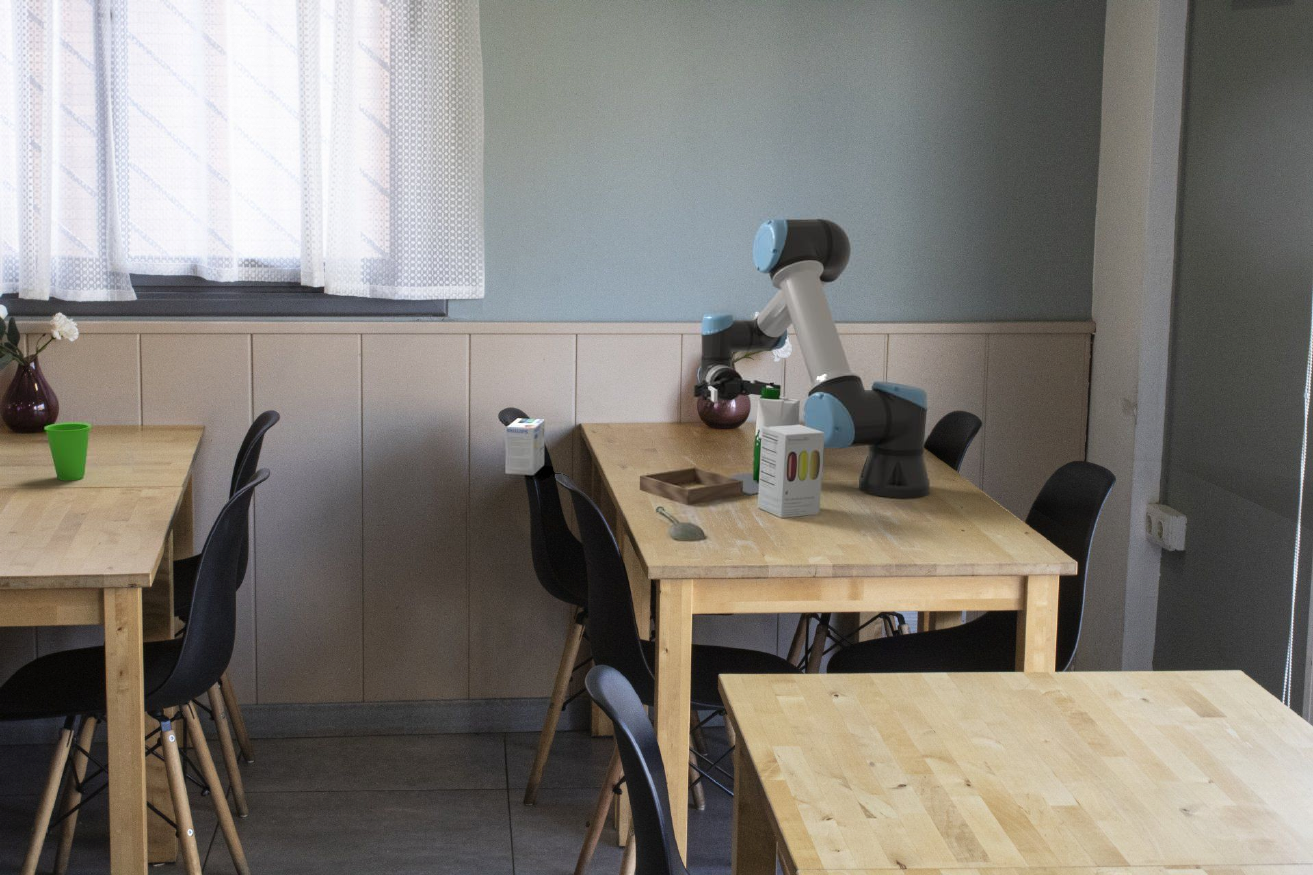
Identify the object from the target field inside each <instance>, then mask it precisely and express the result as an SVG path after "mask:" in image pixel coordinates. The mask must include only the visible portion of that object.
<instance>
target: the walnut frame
mask: <svg viewBox="0 0 1313 875" xmlns="http://www.w3.org/2000/svg"><path fill="white" fill-rule="evenodd" d="M728 476H729V475H724V474H721V473H717V472H713V471H711V470H706V469H703V468H700V467H687V468H683V469H682V468H681V469H674V470H670V471H664V472H663V471H662V472H657V473H649V474H644V475H639V490H640V491H643V492H646V493H648V492H649V494H652V495H655V494H656V495H655V496H658V497H661V496H662V498H665V499H667V498H669V499H668V500H671V501H674V500H675V501H674V502H677V503H680V502H681V504H683V505H692V504H698V503H699V504H700V503H704V502H710V500H711V501H715V500H720V499H721V498H722V499H726V498H732V497H737V496H743V495H744V494H743V481H742V480H739V479H735V478H731V477H728ZM688 483H697V484H701V485H705V486H699V487H693V488H685V487H682V486H679V485H682V484H683V485H684V484H688Z"/></svg>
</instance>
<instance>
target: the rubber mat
mask: <svg viewBox="0 0 1313 875" xmlns="http://www.w3.org/2000/svg"><path fill="white" fill-rule="evenodd" d="M727 476H728V477H731V478H735V479H739V480H742V481H743V495H746V496H754V495H758V494H759V481H755V480H753V472H744V473H738V474H732V475H727Z"/></svg>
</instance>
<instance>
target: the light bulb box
mask: <svg viewBox="0 0 1313 875" xmlns="http://www.w3.org/2000/svg"><path fill="white" fill-rule="evenodd" d="M545 421H546V420H545V419H544V418H543V419H541V418H519V417H518V418H516V419H514V421H512V422H511V423H510V424H508V425H507V426H505V474H507V475H508V474H509V475H520V476H521V475H522V476H523V475H524V476H534V475H535V474H536V473H537V472H538V471H540V469H542V467H544V466H545V427H546V426H545V425H546V424H545V423H546V422H545Z"/></svg>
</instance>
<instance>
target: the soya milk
mask: <svg viewBox="0 0 1313 875" xmlns="http://www.w3.org/2000/svg"><path fill="white" fill-rule="evenodd" d="M800 401H801V399H795V398H789V397H785V396H784V397H783V396H782V397H781V392H780V389H776V388H762V393H761V395H760V397H759V399H758V405H757V414H756V424H755V435H754V436H755V437H754V445H753V457H752V458H753V460H752V461H753V462H752V465H753V466H752V470H753V471H752V473H753V480H755V481H759V475H760V455H761V435H762V427H773V426H790V425H800V403H801V402H800Z"/></svg>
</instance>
